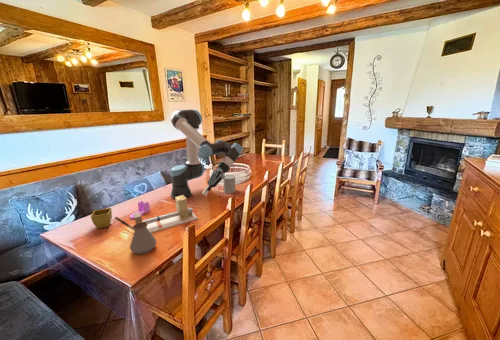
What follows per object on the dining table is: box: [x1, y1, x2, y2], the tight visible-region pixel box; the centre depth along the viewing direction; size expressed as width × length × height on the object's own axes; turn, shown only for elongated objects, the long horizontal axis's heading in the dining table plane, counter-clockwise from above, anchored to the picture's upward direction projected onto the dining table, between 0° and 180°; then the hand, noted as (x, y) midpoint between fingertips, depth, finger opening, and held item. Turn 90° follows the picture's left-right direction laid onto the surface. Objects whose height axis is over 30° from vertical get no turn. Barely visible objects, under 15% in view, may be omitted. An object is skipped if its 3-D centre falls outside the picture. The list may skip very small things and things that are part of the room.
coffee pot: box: [113, 216, 157, 255], centre depth 105 cm, size 21×12×15 cm, turn 71°
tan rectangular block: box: [174, 195, 189, 220], centre depth 131 cm, size 7×5×12 cm
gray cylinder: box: [222, 174, 237, 194], centre depth 174 cm, size 10×10×12 cm
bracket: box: [129, 200, 151, 220], centre depth 140 cm, size 13×6×7 cm, turn 163°
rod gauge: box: [133, 207, 198, 234], centre depth 127 cm, size 11×33×10 cm, turn 123°
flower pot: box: [90, 207, 113, 229], centre depth 126 cm, size 9×9×9 cm
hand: (203, 194), depth 136 cm, fingers closed
